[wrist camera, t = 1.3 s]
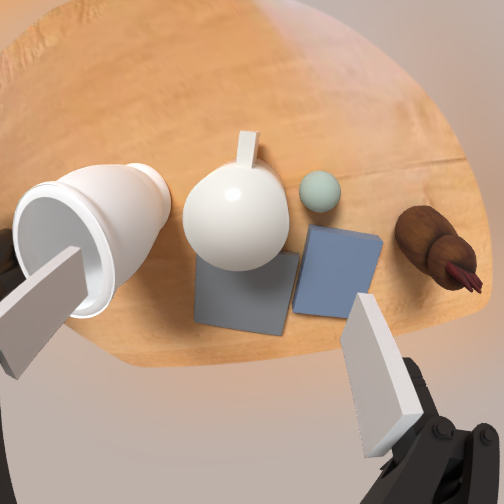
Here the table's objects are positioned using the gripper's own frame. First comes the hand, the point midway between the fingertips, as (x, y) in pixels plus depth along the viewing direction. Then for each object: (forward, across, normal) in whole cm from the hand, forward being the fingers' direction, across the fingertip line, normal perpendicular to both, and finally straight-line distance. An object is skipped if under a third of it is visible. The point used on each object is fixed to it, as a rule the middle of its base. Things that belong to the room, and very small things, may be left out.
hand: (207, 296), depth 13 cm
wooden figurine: (+19, +19, 0) cm, 27 cm away
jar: (+19, -12, -2) cm, 22 cm away
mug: (+19, 0, +1) cm, 19 cm away
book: (+19, +11, -7) cm, 23 cm away
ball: (+19, +7, +2) cm, 20 cm away
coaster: (+19, +1, -11) cm, 22 cm away
